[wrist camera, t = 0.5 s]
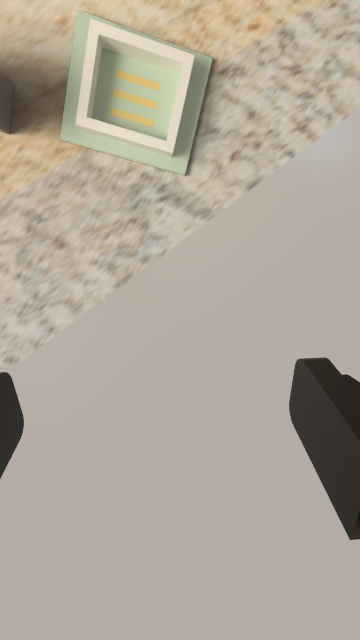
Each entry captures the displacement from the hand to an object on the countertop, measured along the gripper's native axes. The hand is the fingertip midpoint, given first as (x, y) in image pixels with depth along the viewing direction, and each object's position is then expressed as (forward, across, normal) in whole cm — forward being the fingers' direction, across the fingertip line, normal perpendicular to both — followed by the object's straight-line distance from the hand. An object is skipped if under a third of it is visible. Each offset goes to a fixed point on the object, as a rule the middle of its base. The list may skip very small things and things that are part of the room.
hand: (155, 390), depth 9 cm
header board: (+29, +2, -11) cm, 31 cm away
